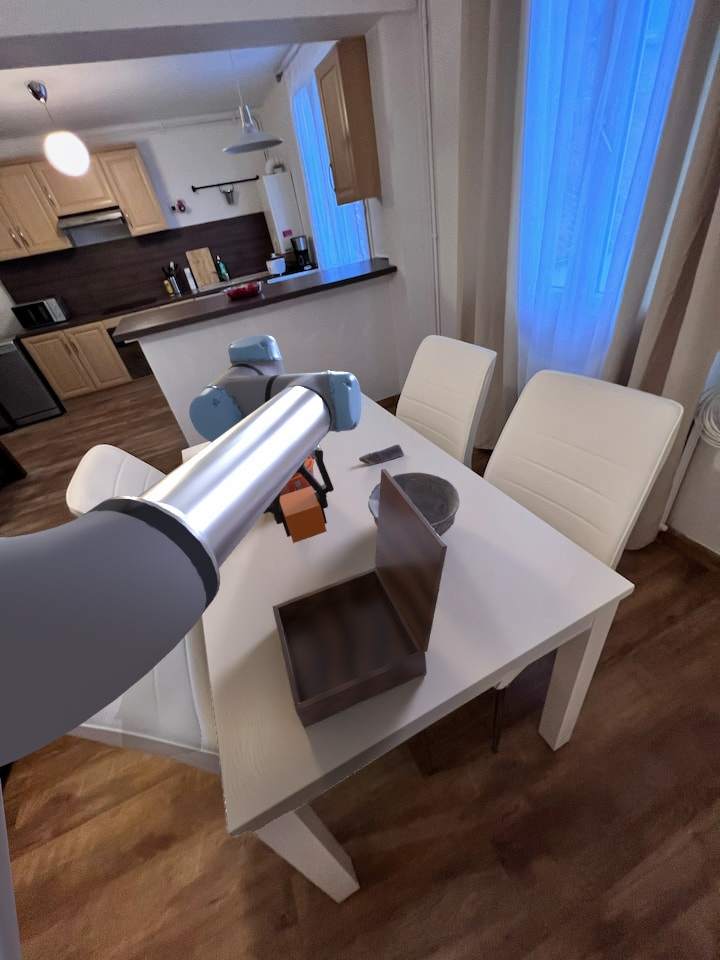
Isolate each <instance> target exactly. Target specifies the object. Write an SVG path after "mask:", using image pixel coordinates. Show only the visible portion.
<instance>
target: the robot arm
mask: <svg viewBox="0 0 720 960" xmlns="http://www.w3.org/2000/svg"><path fill="white" fill-rule="evenodd" d="M227 352H228V356H229V362H230V363H231V366H230V367H229V368H228V369H227V370H226V371H224V372H223V373H222V374H221V375H219V376H218V377H217V378H216V379H214V380H213V381H211V382H210V383H209V384H208V385H206V386H203V388H202V390H201V391H200V392H199V393H198V394H197V395H196V396H195V397H194V398H193V399H192V401H191V403H190V405H189V409H188V410H189V411H188V415H189V419H190V422H191V424H192V425H193V428H194V429H195V431H196V432H197V433H198V434H199V436H201V437H202V438H203V439H204V440H207V441H208V442H210V443H209V444H208V445H206V446H205V447H203V448H202V449H200V450H199V451H198V452H196V453H195V454H193V455H192V456H191V457H189V458H188V459H187V460H185V461H184V462H183V463H181V464H180V465H179V466H178V467H176V468H174V469H173V470H172V471H171V472H169V473H168V474H166V475H165V476H164V477H162V478H160V480H158V481H157V482H155V483H154V484H153V485H151V486H150V487H148V488H147V489H146V490H145V491H143V492H141V493H140V494H139V495H138V496H130V495H117V496H113V497H112V496H111V497H109V498H106V499H105V500H103V501H101V502H100V503H98V504H97V505H95V506H93V507H92V508H91V509H89V510H88V511H86V512H85V513H84V514H82V515H81V516H79V517H77V518H75V519H74V520H71V521H69V522H66V523H63V524H61V525H57V526H55V527H52V528H49V529H48V528H47V529H45V530H41V531H38V532H34V533H28V534H22V535H17V536H9V537H2V536H0V768H1V767H3V766H5V765H8V764H10V763H12V762H15V761H17V760H20V759H22V758H24V757H26V756H28V755H30V754H32V753H34V752H36V751H38V750H41V749H42V748H44V747H45V746H47V745H50V744H51V743H52V742H54V741H56V740H57V739H60V738H61V737H63V736H65V735H66V734H69V733H70V732H71V731H73V730H76V728H78V727H79V726H82V724H84V723H85V722H87V721H88V720H90V719H91V718H92V717H94V716H95V715H96V714H98V713H100V712H101V711H103V710H104V709H105V708H106V707H109V705H111V704H112V703H113V702H115V701H116V700H117V699H119V697H121V696H122V695H124V694H125V693H126V692H127V691H128V690H129V689H130V688H132V687H133V686H134V685H135V684H137V683H138V682H139V681H140V680H142V679H143V678H144V677H145V676H146V675H147V674H149V673H150V672H151V671H152V670H154V668H155V667H156V666H157V665H158V664H159V663H160V662H162V660H164V658H166V657H167V655H169V654H170V653H171V652H172V651H173V650H174V649H175V648H176V647H177V646H178V644H179V643H180V642H182V640H183V639H184V638H185V637H186V636H187V635H188V633H189V632H190V631H191V630H192V629H193V628H194V627H195V625H196V624H197V622H199V620H200V618H202V617H203V614H205V612H206V610H207V609H208V608H209V607H210V605H211V603H213V601H214V600H215V598H216V597H217V595H218V593H219V591H220V586H221V574H220V573H221V572H220V568H221V567H222V566H223V564H224V563H225V562H226V561H227V559H228V558H229V557H230V555H232V553H233V552H234V551H235V549H236V548H237V547H238V545H240V543H241V541H242V540H243V539H244V538H245V537H246V536H247V534H248V533H249V532H250V531H251V529H252V528H253V527H254V525H255V524H256V523H257V522H258V521H259V519H260V518H261V517H262V516H263V514H264V515H266V514H268V513H272V515H273V517H274V520H275V523H276V524H277V525H280V524H282V525H283V528H284V531H285V534H286V537H287V538H289V537H291V535H290V532H289V529H288V526H287V523H286V520H285V517H284V514H283V510H282V507H281V504H279V502H280V494H281V490H282V489H283V488H284V486H285V485H286V484H287V483H288V481H289V480H290V479H291V478H292V476H293V475H294V474H296V473H300V474H301V475H302V476H303V477H304V478H305V479H306V480H307V481H308V483H309V484H310V485H311V486H312V487H313V488H314V490H315V492H314V493H315V496H316V498H317V500H318V502H319V504H320V507H321V511H322V515H323V519H324V523H325V525H326V524H328V520H327V516H326V513H325V509H328V507H329V503H328V499H327V497H328V495H327V494H328V493H332V492H333V491H334V489H335V488H334V485H333V482H332V481H331V477H330V475H329V473H328V470H327V468H326V465H325V463H324V451H323V449H322V448H321V445H320V443H321V442H322V441H323V439H324V438H325V437H326V436H327V434H328V433H330V432H335V433H341V432H349V431H352V430H356V428H357V427H358V425H359V423H360V421H361V417H362V406H363V404H362V403H363V402H362V391H361V387H360V383H359V380H358V379H357V377H356V376H355V375H354V374H353V373H351V372H347V371H346V372H345V371H331V370H326V371H322V372H305V373H288V374H287V373H286V370H285V366H284V363H283V361H284V360H283V357H282V355H281V352H280V349H279V346H278V343H277V341H276V339H275V338H274V337H273V336H271V335H268V334H253V335H248V336H244V337H241V338H238V339H236V340H233V342H231V343H230V344H229V345H228V349H227ZM309 455H311V457H312V459H314V462H315V464H316V466H317V469H318V472H319V474H320V476H321V478H322V482H323V484H321V483H320V482H319V480H318V479H316V478H315V475H314V476H313V475H312V474H311V473H310V471H309V470H308V469H307V468H306V466H305V465H304V463H305V461H306V459H307V458H308V456H309ZM1 781H2V780H1V779H0V960H23V956H22V948H21V940H20V939H21V938H20V932H19V923H18V914H17V907H16V899H15V889H14V883H13V873H12V872H13V871H12V865H11V857H10V848H9V847H10V846H9V841H8V832H7V823H6V814H5V807H4V797H3V790H2V789H3V788H2V782H1Z"/></svg>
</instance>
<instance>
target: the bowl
mask: <svg viewBox="0 0 720 960" xmlns="http://www.w3.org/2000/svg"><path fill="white" fill-rule="evenodd" d="M392 478H393V479H394V480H395V481H396V483H397V484H398V485H399V486H400V488H401V489H402V490H403V491H404V493H405V494H406V495H407V496H408V498H409V499H410V500H411V501H412V503H413V504H414V505H415V506H416V508H417V509H418V510H419V511H420V513H421V514H422V515H423V516H424V518H425V519H426V520H427V521H428V523H429V524H430V525H431V526H432V528H433V529H434V530H435V531H436V533H437V534H438V535H439V536H440V537H441V536H443V535H444V534H445V533H447V531H449V530H450V529H451V527H452V526H453V525H454V523H455V521H456V520H455V519H456V514H457V511H458V510H459V508H460V496H459V492H458V489H457V488H456V487H455V486H454V485H453V484H452V482H451V481H449V480H448V479H446V478H444V477H442V476H439V475H435V474H432V473H426V472H420V471H414V472H404V473H403V472H402V473H398V474H395V475H393V476H392ZM379 498H380V482H379V483H378V484H376V485H375V487H374V488H373V489H372V490H371V493H370V494H369V496H368V503H367V504H368V505H367V506H368V510H369V512H370V514H371V515H372V517H373V520H374V524H375V526H376V527H377V528H378V514H379Z"/></svg>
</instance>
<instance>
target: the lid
mask: <svg viewBox="0 0 720 960" xmlns="http://www.w3.org/2000/svg"><path fill="white" fill-rule="evenodd" d="M380 470H381V471H380V481H379V483H380V498H379V514H378V527H377V528H376V529H377V531H376V548H375V560H374V561H375V564H374V567H376V568H377V569H378V571H379V573H380V575H381V577H382V578H383V580H384V582H385V584H386V586H387V588H388V589H389V591H390V593H391V595H392V597H393V599H394V600H395V602H396V604H397V606H398V608H399V610H400V611H401V613H402V615H403V617H404V619H405V621H406V622H407V624H408V626H409V628H410V630H411V632H412V633H413V635H414V637H415V639H416V641H417V643H418V644H419V646H420V648H421V650H422V652H423V653H427V652H428V651H429V645H430V641H431V640H430V639H431V633H432V629H433V624H434V618H435V613H436V609H437V602H438V596H439V593H440V586H441V583H442V576H443V570H444V566H445V560H446V556H447V550H448V545H447V544H446V543H445V542H444V540H443V538H442V537H441V536H439V535H438V534H437V533H436V531H435V530H434V529H433V528H432V526H431V525H430V524H429V523H428V521H427V520H426V519H425V518H424V516H423V515H422V514H421V513H420V511H419V510H418V509H417V508H416V506H415V505H414V504H413V503H412V501H411V500H410V499H409V498H408V496H407V495H406V494H405V493H404V491H403V490H402V489H401V488H400V486H399V485H398V484H397V483H396V481H395V480H394V479H393V478H392V477H393V476H392V475H391V473H389V471H388V470H387V468H381V469H380Z"/></svg>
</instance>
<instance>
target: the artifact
mask: <svg viewBox="0 0 720 960" xmlns="http://www.w3.org/2000/svg"><path fill="white" fill-rule="evenodd" d="M398 457H405V453H404V451H403V449H402V447H401V446H400V444H394V445H391V446H389V447H386V448H384V449H381V450H376V451H373V452H370V453H367V454H364V455H362V456H360V457H359V458H358V461H359V462H361V463H364V464H367V465H368V466H373V465H376V464H380V463H384V462H388V461H391V460H394V459H396V458H398Z"/></svg>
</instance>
